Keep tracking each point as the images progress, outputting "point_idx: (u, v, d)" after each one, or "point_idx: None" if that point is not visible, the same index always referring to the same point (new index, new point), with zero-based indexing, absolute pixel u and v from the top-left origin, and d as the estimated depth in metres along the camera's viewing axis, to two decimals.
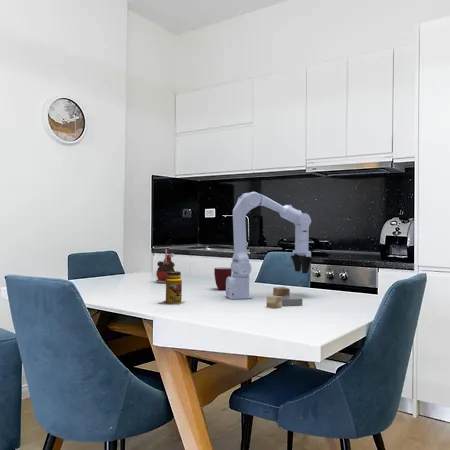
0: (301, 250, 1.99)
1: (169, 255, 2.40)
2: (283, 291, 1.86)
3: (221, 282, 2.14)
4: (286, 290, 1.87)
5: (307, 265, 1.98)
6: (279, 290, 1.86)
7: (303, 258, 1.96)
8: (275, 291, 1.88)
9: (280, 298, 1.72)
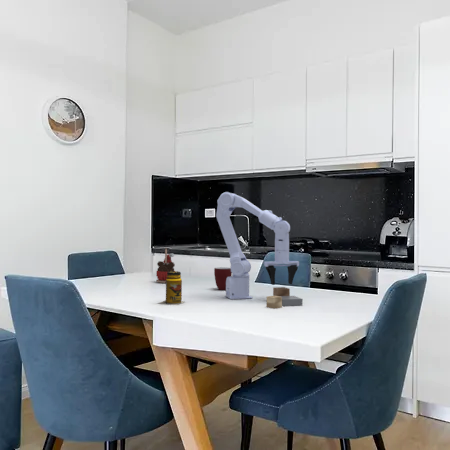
0: None
1: (169, 255, 2.40)
2: (283, 291, 1.86)
3: (221, 282, 2.14)
4: (286, 290, 1.87)
5: (272, 276, 1.87)
6: (279, 290, 1.86)
7: (266, 268, 1.89)
8: (275, 291, 1.88)
9: (280, 298, 1.72)
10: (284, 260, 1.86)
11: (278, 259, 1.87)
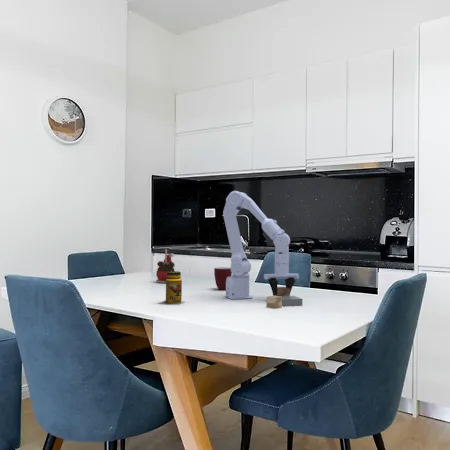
0: None
1: (169, 255, 2.40)
2: (283, 291, 1.86)
3: (221, 282, 2.14)
4: (286, 290, 1.87)
5: (274, 288, 1.87)
6: (279, 290, 1.86)
7: (268, 280, 1.89)
8: None
9: (280, 298, 1.72)
10: (284, 273, 1.86)
11: (278, 272, 1.87)
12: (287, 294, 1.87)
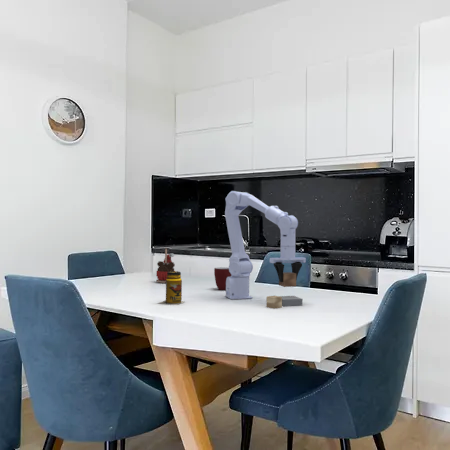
0: (280, 256, 1.82)
1: (169, 255, 2.40)
2: (289, 276, 1.79)
3: (221, 282, 2.14)
4: (292, 275, 1.80)
5: None
6: (285, 275, 1.79)
7: (274, 264, 1.82)
8: None
9: (280, 298, 1.72)
10: (290, 256, 1.79)
11: (284, 255, 1.79)
12: (293, 279, 1.80)
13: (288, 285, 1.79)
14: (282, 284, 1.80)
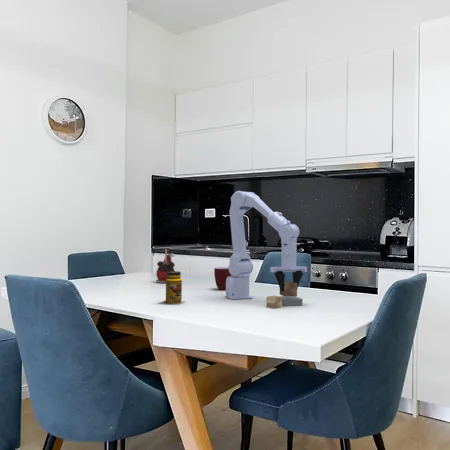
0: (281, 265, 1.80)
1: (169, 255, 2.40)
2: (290, 285, 1.78)
3: (221, 282, 2.14)
4: (293, 284, 1.78)
5: (281, 282, 1.78)
6: (286, 284, 1.77)
7: (274, 273, 1.80)
8: None
9: (280, 298, 1.72)
10: (291, 266, 1.77)
11: (285, 265, 1.78)
12: (294, 289, 1.78)
13: (289, 295, 1.78)
14: (283, 293, 1.78)
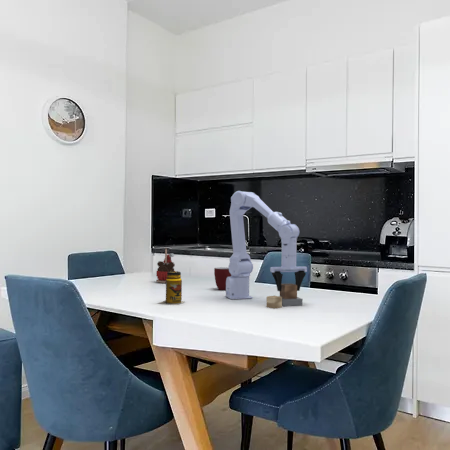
0: (281, 265, 1.80)
1: (169, 255, 2.40)
2: (290, 287, 1.78)
3: (221, 282, 2.14)
4: (293, 286, 1.78)
5: None
6: (286, 286, 1.77)
7: (272, 273, 1.80)
8: (282, 288, 1.80)
9: (280, 298, 1.72)
10: (291, 266, 1.77)
11: (285, 265, 1.78)
12: (294, 291, 1.78)
13: (289, 297, 1.78)
14: (283, 296, 1.78)
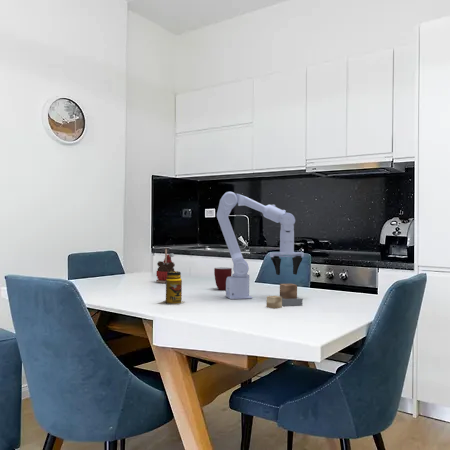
0: None
1: (169, 255, 2.40)
2: (290, 287, 1.78)
3: (221, 282, 2.14)
4: (293, 286, 1.78)
5: None
6: (286, 286, 1.77)
7: (271, 258, 1.94)
8: (282, 288, 1.80)
9: (280, 298, 1.72)
10: (289, 251, 1.91)
11: (283, 250, 1.92)
12: (294, 291, 1.78)
13: (289, 297, 1.78)
14: (283, 296, 1.78)
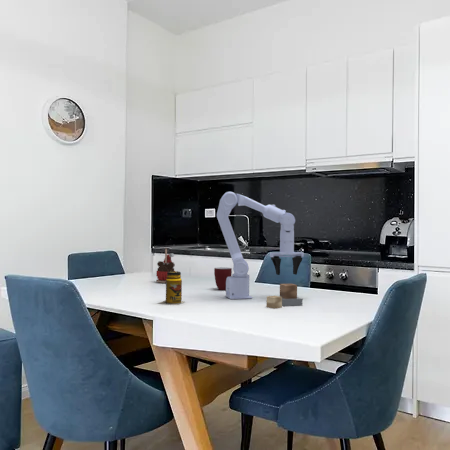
0: None
1: (169, 255, 2.40)
2: (290, 287, 1.78)
3: (221, 282, 2.14)
4: (293, 286, 1.78)
5: None
6: (286, 286, 1.77)
7: (271, 258, 1.94)
8: (282, 288, 1.80)
9: (280, 298, 1.72)
10: (289, 251, 1.91)
11: (283, 250, 1.92)
12: (294, 291, 1.78)
13: (289, 297, 1.78)
14: (283, 296, 1.78)
